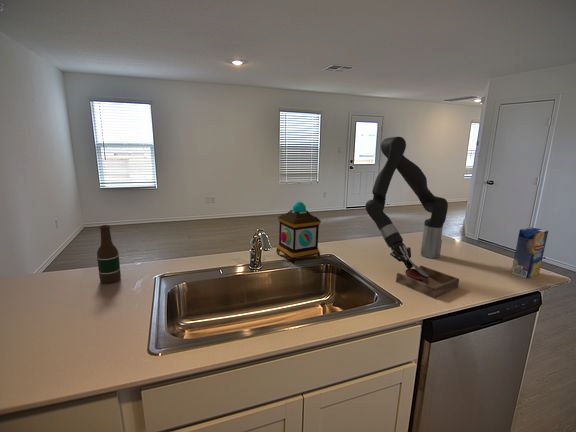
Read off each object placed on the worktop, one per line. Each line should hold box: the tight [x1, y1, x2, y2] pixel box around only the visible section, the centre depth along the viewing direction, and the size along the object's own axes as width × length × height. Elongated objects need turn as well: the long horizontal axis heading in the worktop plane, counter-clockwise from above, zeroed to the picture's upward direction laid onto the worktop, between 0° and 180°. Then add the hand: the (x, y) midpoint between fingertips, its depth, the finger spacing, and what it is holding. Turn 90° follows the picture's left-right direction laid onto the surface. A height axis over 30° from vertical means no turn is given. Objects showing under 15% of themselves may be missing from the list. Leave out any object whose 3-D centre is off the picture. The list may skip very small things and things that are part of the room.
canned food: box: [404, 259, 430, 285], centre depth 135 cm, size 11×10×10 cm
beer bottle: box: [96, 224, 122, 285], centre depth 126 cm, size 8×8×24 cm
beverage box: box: [510, 227, 549, 279], centre depth 144 cm, size 7×11×22 cm, turn 118°
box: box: [395, 265, 460, 299], centre depth 131 cm, size 18×18×4 cm
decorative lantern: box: [275, 201, 322, 264], centre depth 160 cm, size 20×20×30 cm
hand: (410, 268), depth 137 cm, fingers closed
